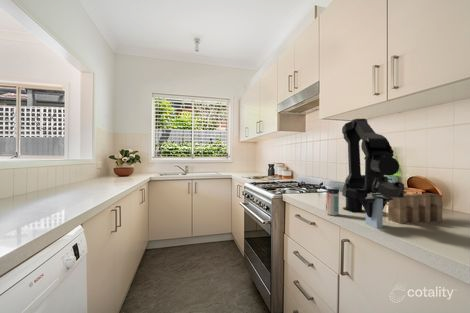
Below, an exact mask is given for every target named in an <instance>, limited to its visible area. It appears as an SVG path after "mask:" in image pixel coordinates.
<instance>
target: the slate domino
mask: <svg viewBox="0 0 470 313" xmlns="http://www.w3.org/2000/svg"><path fill="white" fill-rule="evenodd" d="M373 196H374V195H372V199H375V201H374V202H373V203H372V216H371V218H370V217H368V216H367V213H366V212H365V224H366V225H368V226H370V227H373V228H375V229H382V228H383V223H384V222H383V218H384V217H383V215H384V209H383V199H382V198H378V197H373Z"/></svg>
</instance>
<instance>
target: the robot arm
mask: <svg viewBox="0 0 470 313" xmlns="http://www.w3.org/2000/svg"><path fill="white" fill-rule="evenodd" d="M341 130H342V131H341V132H342V136H343V139H344V140H345V142H346V144H347V154H348V155H347V158H348V175H347V176H346V178H345V181H344V184H343V187H342V190H341V194H342V196H343V197H345V207H344V206H343V207H342V209H344V210H345V211H349V212H351V213H360V212H362V213H363V212H365V214H366V213H367V216H368V217H370V218H371V216H372V203H373V202H374V201H375V199H372V196H373V197H378V198H382V199H383V210H384V208H385V206H386V205H387V204H388V202H389V201H390V200H393V198H391V197H395V198H400V197H404V194H405V184H404V183H403V182H401V181H395V182H390V181H389V177H388V176H393V175H395V174H397V173H398V171H399V170H400V163H399V161H398V160H397V159H396V158H394V157H395V156H394V152H395V151H394V149H393V148H392V147H391V145H390V141H388V139H387V137H385V136H384V135H383V134H379V133H376V132H375V130H374V129H373V128H372V126H370V124H369V123H368V119H366V118H353V119H352V120H351V121H348V122H346V123H344V124H343V126H342V129H341ZM361 140H362V141H361ZM360 141H361V146H360ZM360 147H361V150H360ZM361 151H362V152H363V154H364V155H365V157H364V162H365V163H364V164H365V165H364V174H362V173H361V172H362V171H361Z"/></svg>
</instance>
